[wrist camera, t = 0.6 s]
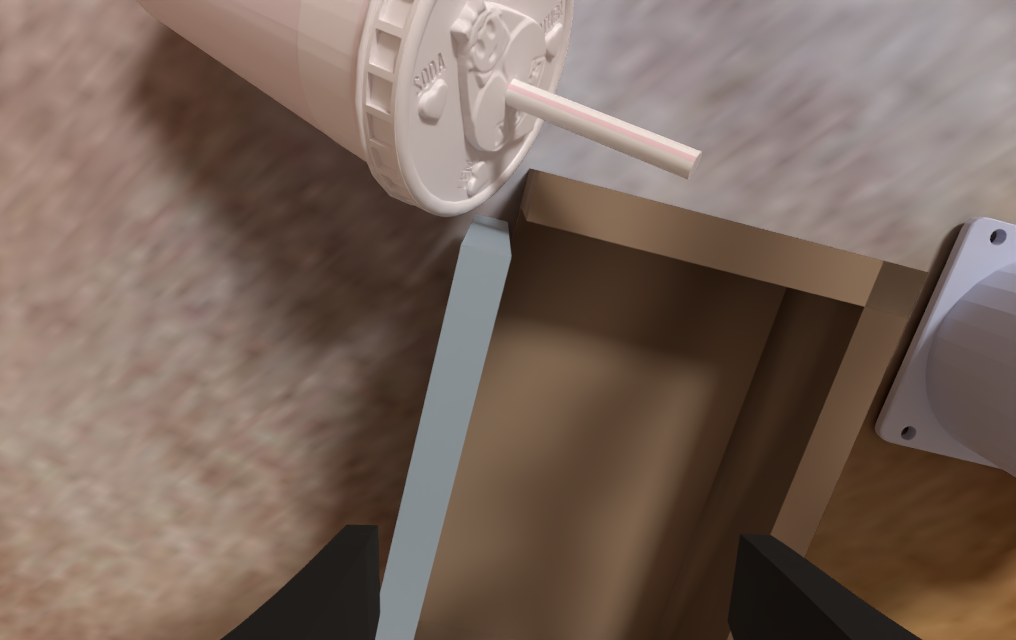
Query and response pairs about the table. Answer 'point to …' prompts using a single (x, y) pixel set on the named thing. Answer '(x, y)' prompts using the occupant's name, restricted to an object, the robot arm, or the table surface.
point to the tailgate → (444, 423)
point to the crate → (652, 416)
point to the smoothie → (416, 84)
